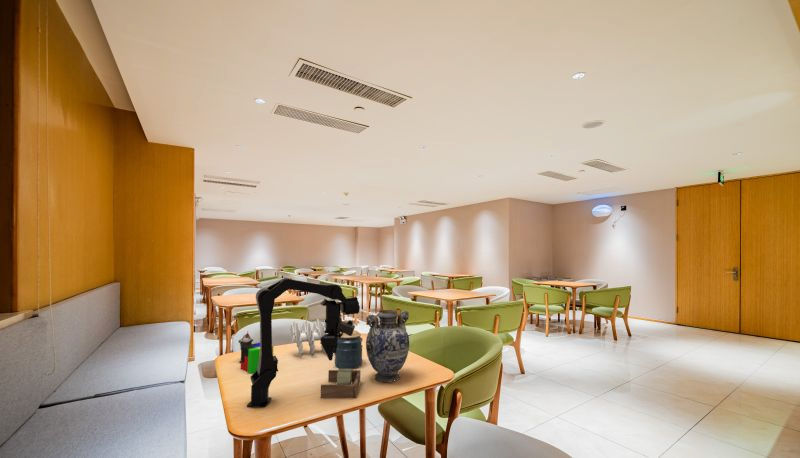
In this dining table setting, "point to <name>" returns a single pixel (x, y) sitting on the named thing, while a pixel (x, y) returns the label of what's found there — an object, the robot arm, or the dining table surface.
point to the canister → (349, 351)
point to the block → (344, 377)
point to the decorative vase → (387, 343)
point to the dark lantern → (245, 340)
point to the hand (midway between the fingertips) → (332, 356)
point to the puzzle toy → (250, 357)
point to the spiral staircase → (307, 334)
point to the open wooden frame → (341, 386)
